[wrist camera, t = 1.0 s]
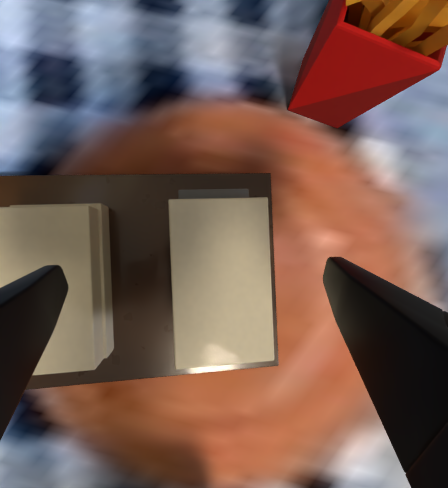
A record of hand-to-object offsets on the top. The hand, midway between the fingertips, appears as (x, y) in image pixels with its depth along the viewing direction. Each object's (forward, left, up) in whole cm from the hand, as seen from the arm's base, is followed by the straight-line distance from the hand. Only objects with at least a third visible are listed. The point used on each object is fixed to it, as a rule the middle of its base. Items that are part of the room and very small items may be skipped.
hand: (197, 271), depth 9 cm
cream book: (-1, -2, -9) cm, 9 cm away
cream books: (-1, +9, -13) cm, 16 cm away
